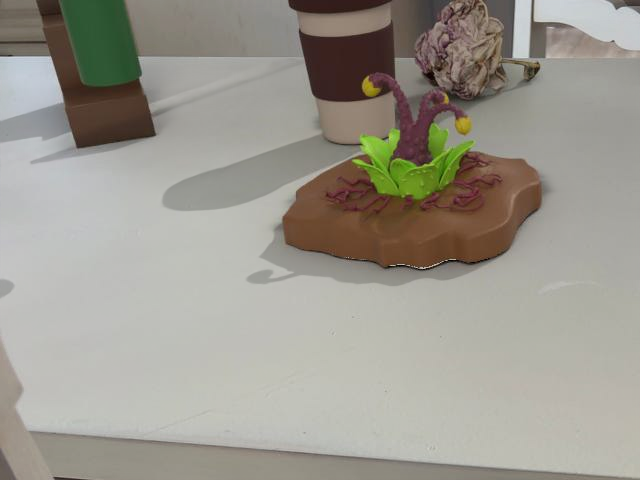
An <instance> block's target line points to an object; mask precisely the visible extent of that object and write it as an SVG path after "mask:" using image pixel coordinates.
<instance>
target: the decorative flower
mask: <svg viewBox="0 0 640 480" xmlns="http://www.w3.org/2000/svg"><path fill="white" fill-rule="evenodd" d="M436 18H437V22H435V24H434V26H433V27H431V28H429V29H428V31H424V32H422V33H421V35H420V36H419V37H418V38H416V41H415V43H414V49H413V53H414V54H413V56H414V62H415V65H417V66H418V67H419V69H420V70H421V72H420V75H421V76H422V77H423V79H424V80H425V81H427V82H428V83H429V84H430V85H431V87H433V88H439V90H440V91H443V93H445V94H447V93H448V92H449V93H450V94H452V95H454V94H455V95H458V97H460V99H464V100H465V101H470V100H473V99H474V98H478V97H480V96H482V94H483V92H484V91H485V89H489V88H492V89H493V90H494V92H495V93H499V92H500V91H502V89H503V88H505V86H506V85H507V84H508V83H509V80H508V75H507V73H506V71H505V68H504V66H503V64H513V65H519V66H523V67H524V68H523V77H524V78H525V79H526V80H527V82H528V81H531V79H534V78H535V76H536V75H537V74H538V73H539V71H540V70H541V64H540V62H539V61H538V60H537V59H536V61H535V62H531V61H525V60H523V61H522V60H515V59H506V58H503V57H502V55H501V53H502V48H503V41H504V31H505V29H506V28H505V25H504V24H503V23H502V22H501V20H500V19H499V18H496V17H492V16H489V12H488V7H487V4H486V3H485V2H484V1H483V0H452V1H451V2H449V4H448V5H446V6H443V8H442V9H441V12H439V13H438V14H436Z"/></svg>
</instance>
